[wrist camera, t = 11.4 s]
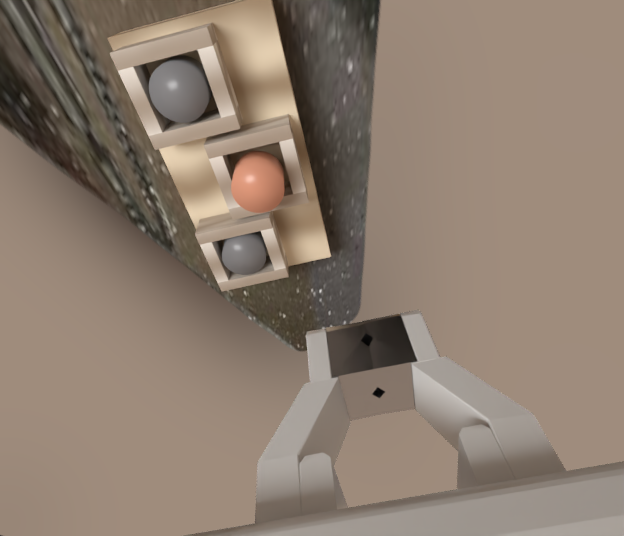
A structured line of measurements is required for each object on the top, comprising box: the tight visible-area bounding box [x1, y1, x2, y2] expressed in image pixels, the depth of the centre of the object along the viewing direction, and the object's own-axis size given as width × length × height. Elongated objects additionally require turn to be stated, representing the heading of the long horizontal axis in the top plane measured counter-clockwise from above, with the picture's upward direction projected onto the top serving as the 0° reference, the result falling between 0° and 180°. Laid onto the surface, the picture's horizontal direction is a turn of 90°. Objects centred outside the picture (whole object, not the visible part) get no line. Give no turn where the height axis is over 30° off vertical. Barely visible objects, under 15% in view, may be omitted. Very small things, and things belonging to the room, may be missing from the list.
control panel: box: [108, 0, 331, 291], centre depth 38 cm, size 25×13×7 cm, turn 12°
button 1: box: [149, 55, 212, 123], centre depth 32 cm, size 4×4×3 cm
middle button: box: [231, 151, 285, 213], centre depth 34 cm, size 4×4×3 cm
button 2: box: [222, 231, 266, 275], centre depth 42 cm, size 4×4×3 cm
